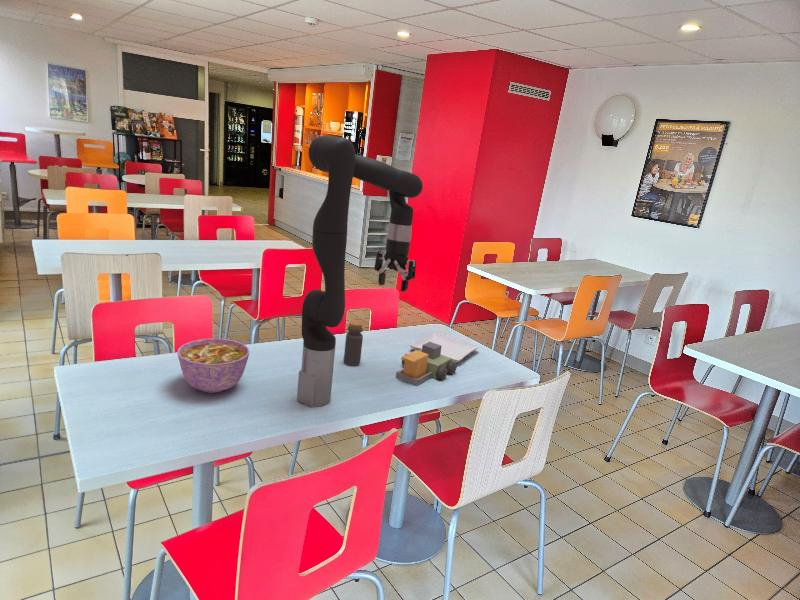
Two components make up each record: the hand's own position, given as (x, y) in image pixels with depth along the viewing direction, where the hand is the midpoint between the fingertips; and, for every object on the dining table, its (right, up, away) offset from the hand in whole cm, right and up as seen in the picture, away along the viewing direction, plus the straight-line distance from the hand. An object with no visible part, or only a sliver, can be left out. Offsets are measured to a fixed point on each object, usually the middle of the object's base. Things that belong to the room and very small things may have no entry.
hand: (392, 288), depth 171 cm
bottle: (-15, -26, +17) cm, 35 cm away
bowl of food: (-53, -30, -12) cm, 62 cm away
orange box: (+7, -30, +10) cm, 33 cm away
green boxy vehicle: (+10, -30, +16) cm, 35 cm away
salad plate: (+20, -25, +39) cm, 50 cm away
